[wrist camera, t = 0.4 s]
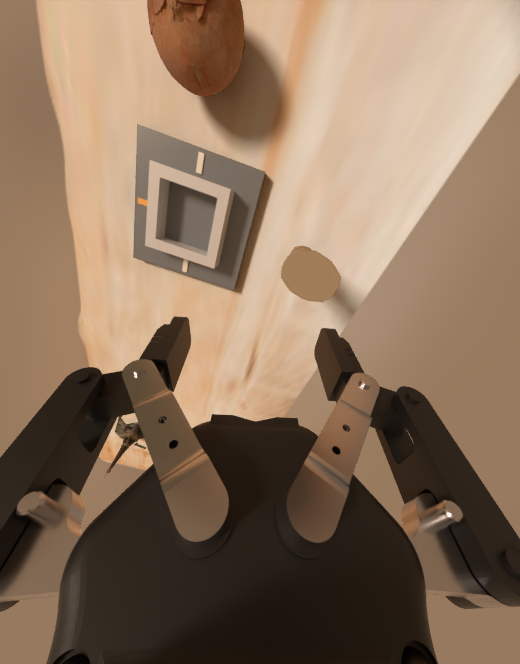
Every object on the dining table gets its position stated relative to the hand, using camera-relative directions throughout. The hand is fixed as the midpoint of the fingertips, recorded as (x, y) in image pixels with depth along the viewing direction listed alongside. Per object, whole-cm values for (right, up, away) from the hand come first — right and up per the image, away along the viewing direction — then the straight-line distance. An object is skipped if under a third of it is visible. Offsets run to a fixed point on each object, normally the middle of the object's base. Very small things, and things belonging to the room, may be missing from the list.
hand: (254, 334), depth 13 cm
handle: (+7, +13, +23) cm, 28 cm away
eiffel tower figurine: (-35, -27, +49) cm, 66 cm away
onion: (-6, +34, +14) cm, 37 cm away
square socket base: (-10, +18, +22) cm, 30 cm away
